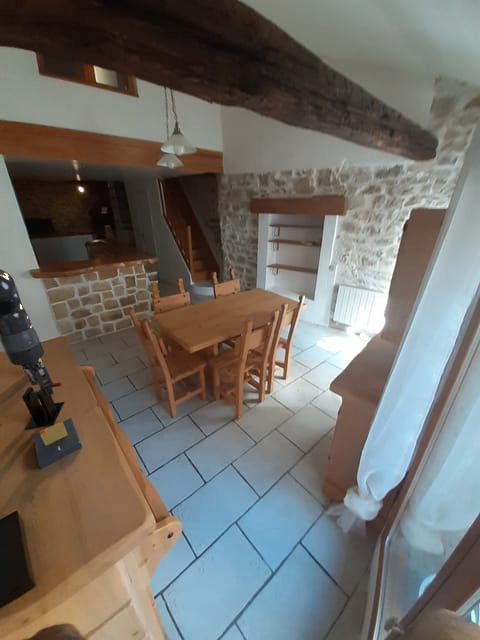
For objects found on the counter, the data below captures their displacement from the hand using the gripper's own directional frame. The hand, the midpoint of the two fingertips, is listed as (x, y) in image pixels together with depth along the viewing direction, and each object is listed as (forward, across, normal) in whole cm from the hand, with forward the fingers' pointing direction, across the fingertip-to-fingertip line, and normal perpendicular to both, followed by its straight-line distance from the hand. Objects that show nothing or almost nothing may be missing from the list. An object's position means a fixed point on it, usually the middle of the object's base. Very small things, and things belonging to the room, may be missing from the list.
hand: (42, 389), depth 75 cm
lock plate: (+15, +8, -3) cm, 18 cm away
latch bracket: (+15, -7, -1) cm, 17 cm away
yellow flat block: (+12, +8, -3) cm, 15 cm away
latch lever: (+9, -10, +2) cm, 13 cm away
